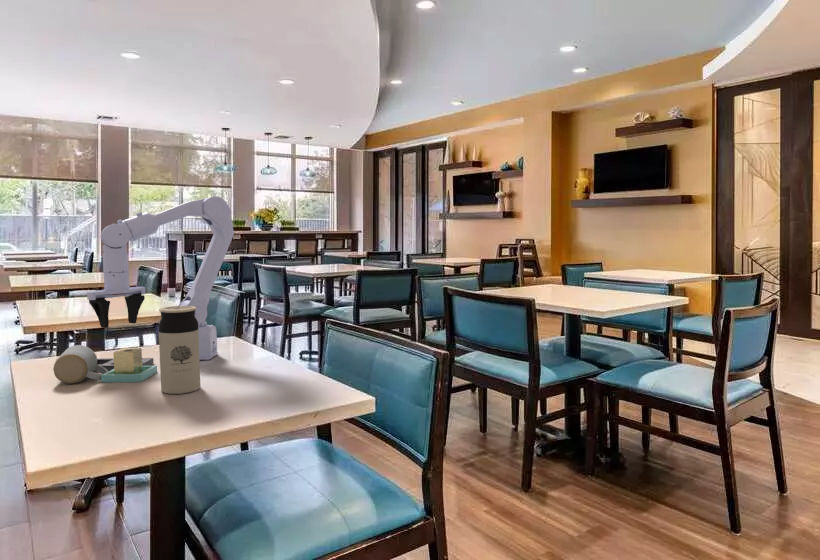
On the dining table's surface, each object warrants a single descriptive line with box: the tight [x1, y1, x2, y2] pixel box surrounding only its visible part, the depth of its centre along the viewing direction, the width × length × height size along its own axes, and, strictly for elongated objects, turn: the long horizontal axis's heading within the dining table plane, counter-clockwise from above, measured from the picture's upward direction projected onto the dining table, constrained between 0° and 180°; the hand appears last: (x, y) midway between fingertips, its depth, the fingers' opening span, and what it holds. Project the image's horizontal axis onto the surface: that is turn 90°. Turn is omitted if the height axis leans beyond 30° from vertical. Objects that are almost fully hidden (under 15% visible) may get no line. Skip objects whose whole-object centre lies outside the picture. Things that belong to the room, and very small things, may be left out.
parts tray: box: [100, 365, 158, 383], centre depth 137 cm, size 9×9×2 cm
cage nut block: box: [113, 347, 143, 374], centre depth 137 cm, size 4×4×6 cm
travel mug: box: [158, 305, 201, 395], centre depth 125 cm, size 8×8×18 cm
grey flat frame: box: [93, 357, 154, 373], centre depth 146 cm, size 18×8×2 cm, turn 92°
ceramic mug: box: [53, 344, 109, 385], centre depth 134 cm, size 11×8×8 cm
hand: (118, 325), depth 148 cm, fingers open, 7 cm apart
